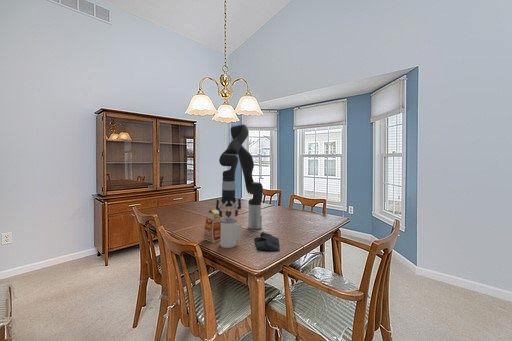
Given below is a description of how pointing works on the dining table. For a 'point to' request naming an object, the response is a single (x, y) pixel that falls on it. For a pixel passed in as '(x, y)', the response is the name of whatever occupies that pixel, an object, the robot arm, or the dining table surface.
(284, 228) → the dining table surface
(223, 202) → the robot arm
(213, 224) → the milk carton
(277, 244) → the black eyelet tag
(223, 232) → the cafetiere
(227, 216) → the plunger
